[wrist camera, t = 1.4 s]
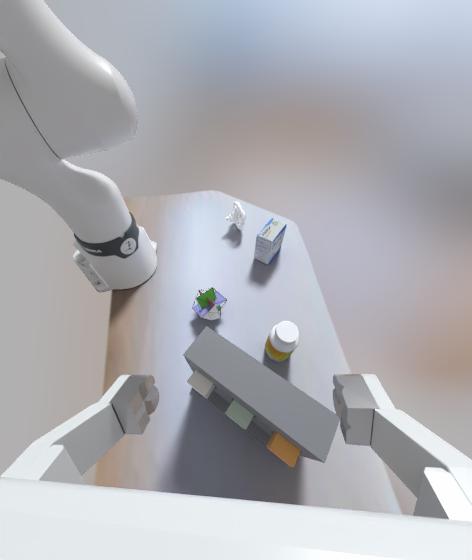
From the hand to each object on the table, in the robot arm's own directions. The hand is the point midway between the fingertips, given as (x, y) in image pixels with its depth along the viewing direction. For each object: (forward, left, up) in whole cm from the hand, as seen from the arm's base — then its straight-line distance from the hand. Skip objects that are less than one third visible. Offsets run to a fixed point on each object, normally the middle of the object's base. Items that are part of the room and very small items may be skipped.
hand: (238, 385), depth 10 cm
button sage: (+1, +1, -28) cm, 28 cm away
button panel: (+1, +4, -36) cm, 36 cm away
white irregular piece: (-27, +41, -36) cm, 61 cm away
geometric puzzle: (-16, +15, -36) cm, 42 cm away
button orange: (+8, +1, -28) cm, 29 cm away
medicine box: (-14, +38, -36) cm, 54 cm away
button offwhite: (-6, +1, -28) cm, 29 cm away
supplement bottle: (+1, +16, -36) cm, 39 cm away
